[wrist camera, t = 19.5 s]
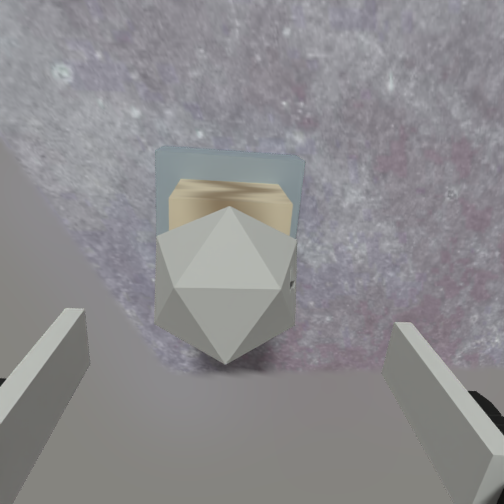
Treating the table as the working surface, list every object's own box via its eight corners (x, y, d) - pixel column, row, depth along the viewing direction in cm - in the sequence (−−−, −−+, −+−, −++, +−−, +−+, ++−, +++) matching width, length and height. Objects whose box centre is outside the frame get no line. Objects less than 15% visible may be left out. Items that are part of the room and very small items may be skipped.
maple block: (278, 184, 31) (292, 204, 24) (270, 272, 34) (281, 311, 27) (180, 178, 30) (168, 198, 24) (180, 269, 33) (169, 308, 26)
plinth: (296, 155, 34) (305, 161, 30) (282, 274, 38) (288, 292, 34) (163, 145, 33) (155, 150, 29) (164, 270, 37) (157, 288, 33)
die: (239, 329, 28) (338, 361, 20) (124, 343, 23) (198, 393, 15) (242, 220, 28) (342, 211, 20) (127, 210, 23) (203, 193, 15)
